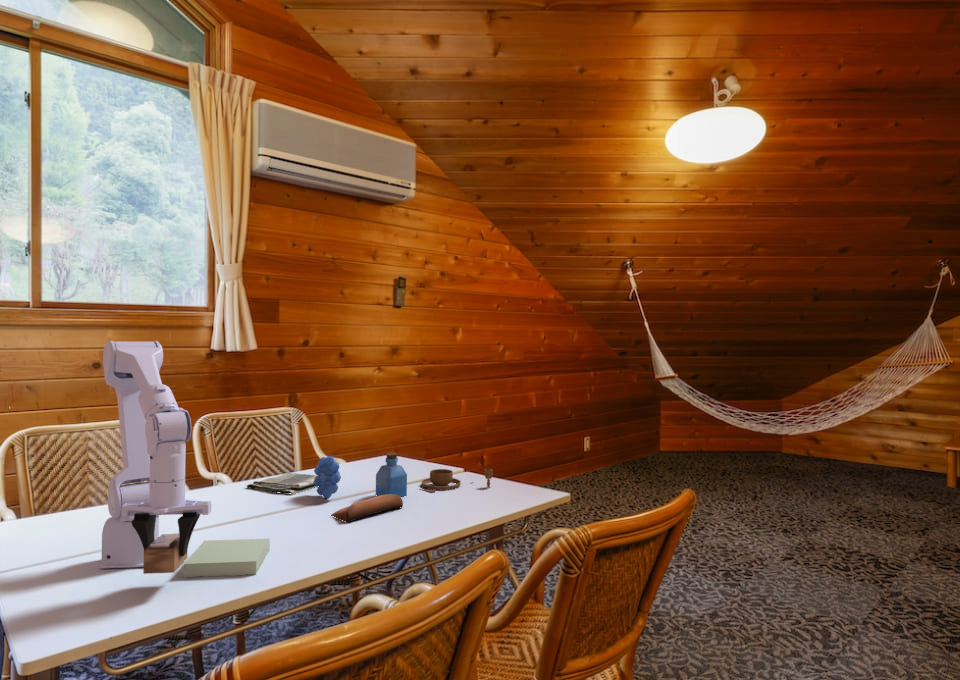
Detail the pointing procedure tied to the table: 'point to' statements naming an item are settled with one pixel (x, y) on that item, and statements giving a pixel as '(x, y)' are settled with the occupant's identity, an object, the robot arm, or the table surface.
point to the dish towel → (286, 483)
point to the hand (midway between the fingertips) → (166, 554)
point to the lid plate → (165, 541)
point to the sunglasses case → (369, 507)
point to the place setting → (447, 480)
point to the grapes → (327, 476)
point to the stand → (227, 557)
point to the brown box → (162, 560)
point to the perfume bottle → (391, 478)
